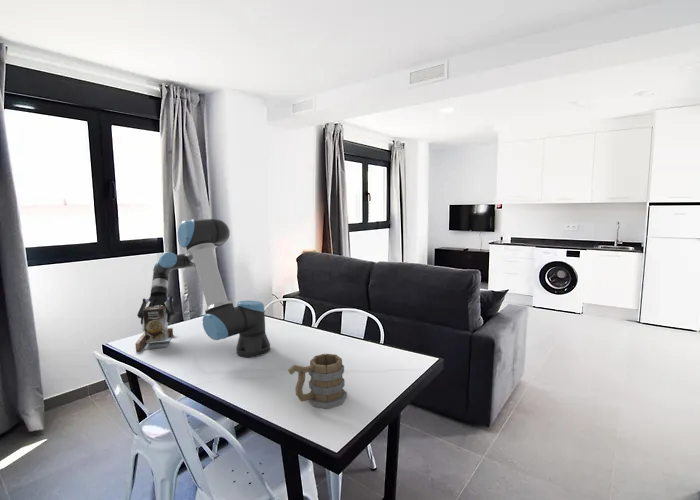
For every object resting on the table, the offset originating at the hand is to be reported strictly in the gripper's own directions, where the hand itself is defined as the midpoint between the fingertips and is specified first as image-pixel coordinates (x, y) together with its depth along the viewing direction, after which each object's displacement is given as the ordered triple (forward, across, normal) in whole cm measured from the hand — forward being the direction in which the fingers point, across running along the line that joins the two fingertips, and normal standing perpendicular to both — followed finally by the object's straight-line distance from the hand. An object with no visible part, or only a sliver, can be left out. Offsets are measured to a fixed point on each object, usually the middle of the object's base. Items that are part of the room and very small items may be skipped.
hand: (154, 329), depth 176 cm
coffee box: (+2, 0, -7) cm, 7 cm away
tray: (+3, +1, -9) cm, 10 cm away
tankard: (+57, -65, +45) cm, 98 cm away
